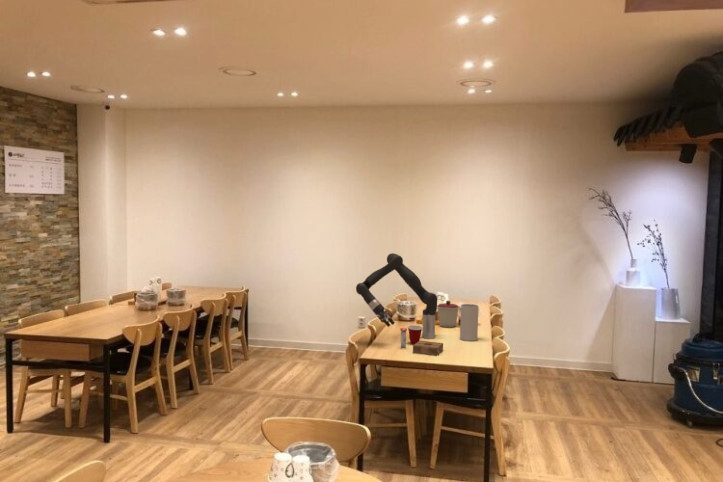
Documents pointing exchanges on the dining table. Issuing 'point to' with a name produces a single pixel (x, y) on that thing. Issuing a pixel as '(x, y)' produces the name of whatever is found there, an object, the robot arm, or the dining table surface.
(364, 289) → the robot arm
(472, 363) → the dining table surface
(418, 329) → the plastic cup
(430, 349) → the block
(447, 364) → the dining table surface
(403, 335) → the lynch pin
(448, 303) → the canister
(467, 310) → the cylinder vase
